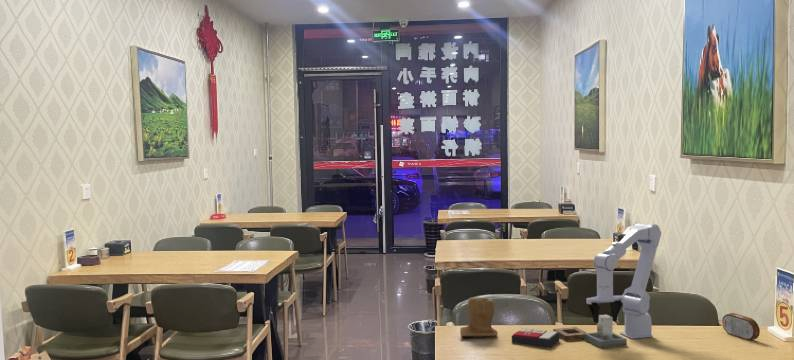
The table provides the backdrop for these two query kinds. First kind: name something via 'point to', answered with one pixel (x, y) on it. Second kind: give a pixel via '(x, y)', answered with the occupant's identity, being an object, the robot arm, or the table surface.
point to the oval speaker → (741, 326)
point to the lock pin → (605, 327)
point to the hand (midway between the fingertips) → (605, 321)
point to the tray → (614, 342)
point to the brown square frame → (570, 333)
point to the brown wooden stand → (479, 318)
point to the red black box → (536, 337)
